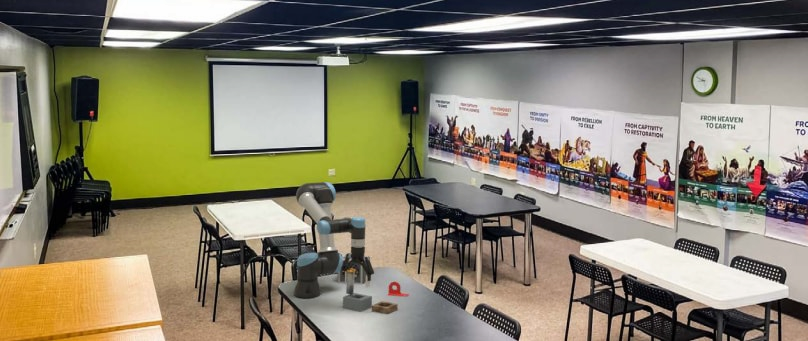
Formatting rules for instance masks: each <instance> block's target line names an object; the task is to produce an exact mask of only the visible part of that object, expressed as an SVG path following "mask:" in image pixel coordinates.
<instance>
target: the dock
mask: <svg viewBox="0 0 808 341" xmlns="http://www.w3.org/2000/svg"><path fill="white" fill-rule="evenodd" d="M372 305H373V296H372V295H368V294H362V293H357V292H356V293H355V292H354V293H353V294H346V295H345V296H342V309H346V310H352V311H357V312H363V311H364V312H365V311H367V310H368V309H372Z"/></svg>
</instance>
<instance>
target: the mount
mask: <svg viewBox="0 0 808 341" xmlns="http://www.w3.org/2000/svg"><path fill="white" fill-rule="evenodd" d="M398 305H399V304H398V303H394V302H390V301H383V300H381V301H379V302H377V303H374V304H372V307H371V312H375V313H381V314H384V315H385V314H386V315H389V314H390V313H394V312H395V311H397V310H398Z"/></svg>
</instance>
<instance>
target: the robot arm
mask: <svg viewBox="0 0 808 341" xmlns="http://www.w3.org/2000/svg"><path fill="white" fill-rule="evenodd" d="M336 194H337V193H336V189H335V187H334V185H333V184H332V183H330V182H325V181H324V182H323V181H321V182H307V183H303V184H302V185H300V186H299V187H298V189H297V191H296V194H295V198H296V202H297V203H298V204H299V206H300V207H302V208H304V209H305V211H307V213H308V215H309V216H310V217H311V218H312V219H313V220H314V222H315V223H316V230H317V233H318V240H319V248H320V249H318V252H317V253H316V252H306V253H302V254H301V255H299V256H298V257H297V262H296V267H297V268H296V269H297V271H296V272H297V274H296V275H297V276H296V277H297V279H296V284H295V288H294V291H293V293H294V296H295V297H297V298H304V299H307V298H308V299H309V298H316V297H320V296H321V295H322V292H321V288H320V284H319V280H318V279H319V276H324V275H330V274H331V275H333V274H338V272H339V271H340V270H341V269H343V270H344V277H345V283H344V284H346V283H347V269H349V268H350V267H351V266H352V264H353V263H358V264H360V265H362V267H363V269H364V270H365V272H366V274H367V275H366V282H365V288H369V287H370V285H371V284H370V282H371V281H372V275H374V274H375V271H374V268H373V266H372V262H371V260H370V256H367V255H365V253H366V247H365V246H366V218H365V217H363V216H353V217H346V216H345V217H343V218H340V219H339V218H337V219H333V217H332V208H331V207H332V205H334V201H335V200H336V196H337V195H336ZM344 233H349V234H350V252H347V253H346V254H345V255H346V258H345V260H344V263H343V258H342V256H343V255H342V254H341V252H339V249H338V248H337V247H336V246H335V244H336V243H335V235H334V234H344ZM365 256H367V257H365ZM350 257H351V258H352V259H351V261H350V262H349V264H348V265H347V263H348V261H349V259H350ZM364 259H365V261H364ZM362 262H363V263H362ZM365 262H366V263H365ZM342 264H343V265H342Z"/></svg>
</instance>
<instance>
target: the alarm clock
mask: <svg viewBox="0 0 808 341" xmlns="http://www.w3.org/2000/svg"><path fill="white" fill-rule="evenodd" d="M364 256H365V257H367V255H364ZM342 258H343V263H344V260H345V258H346V254H343V255H342ZM351 259H352V258H351V257H350V259H349V261H348V263H347V265H348V264H349V262H350V261H351ZM364 261H365V259H364ZM362 263H363V262H362ZM365 263H366V262H365ZM342 265H343V264H342ZM350 268H353V269H355V276H354V285H363V284H366V275H367V274H366V272H365V270H364V269H363V267H362V265H360V264H358V263H353V264H352V266H351V267H350ZM337 283H338V284H346V283H345V277H344V270H343V269H341V270H340V271H339V272H337Z"/></svg>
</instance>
